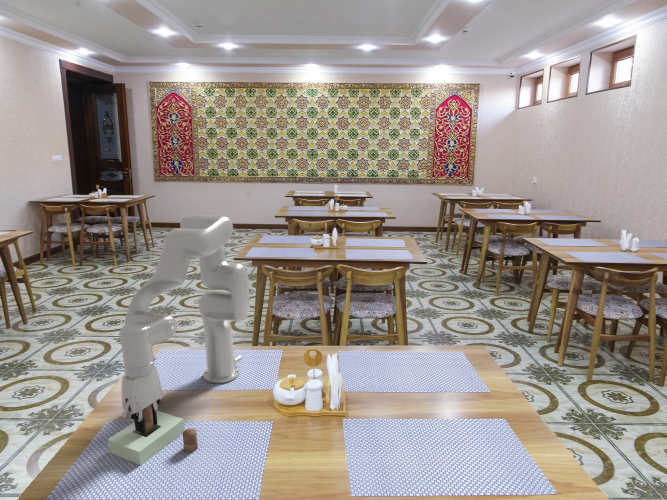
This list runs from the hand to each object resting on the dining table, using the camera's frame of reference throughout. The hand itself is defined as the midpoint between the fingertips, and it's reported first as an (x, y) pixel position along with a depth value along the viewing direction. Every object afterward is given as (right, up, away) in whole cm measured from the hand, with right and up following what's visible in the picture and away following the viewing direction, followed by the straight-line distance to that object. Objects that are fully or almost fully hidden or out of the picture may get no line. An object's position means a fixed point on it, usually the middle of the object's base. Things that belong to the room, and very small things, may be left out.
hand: (146, 426), depth 130 cm
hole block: (0, -5, +1) cm, 5 cm away
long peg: (0, -3, +1) cm, 3 cm away
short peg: (+13, -5, -2) cm, 14 cm away
